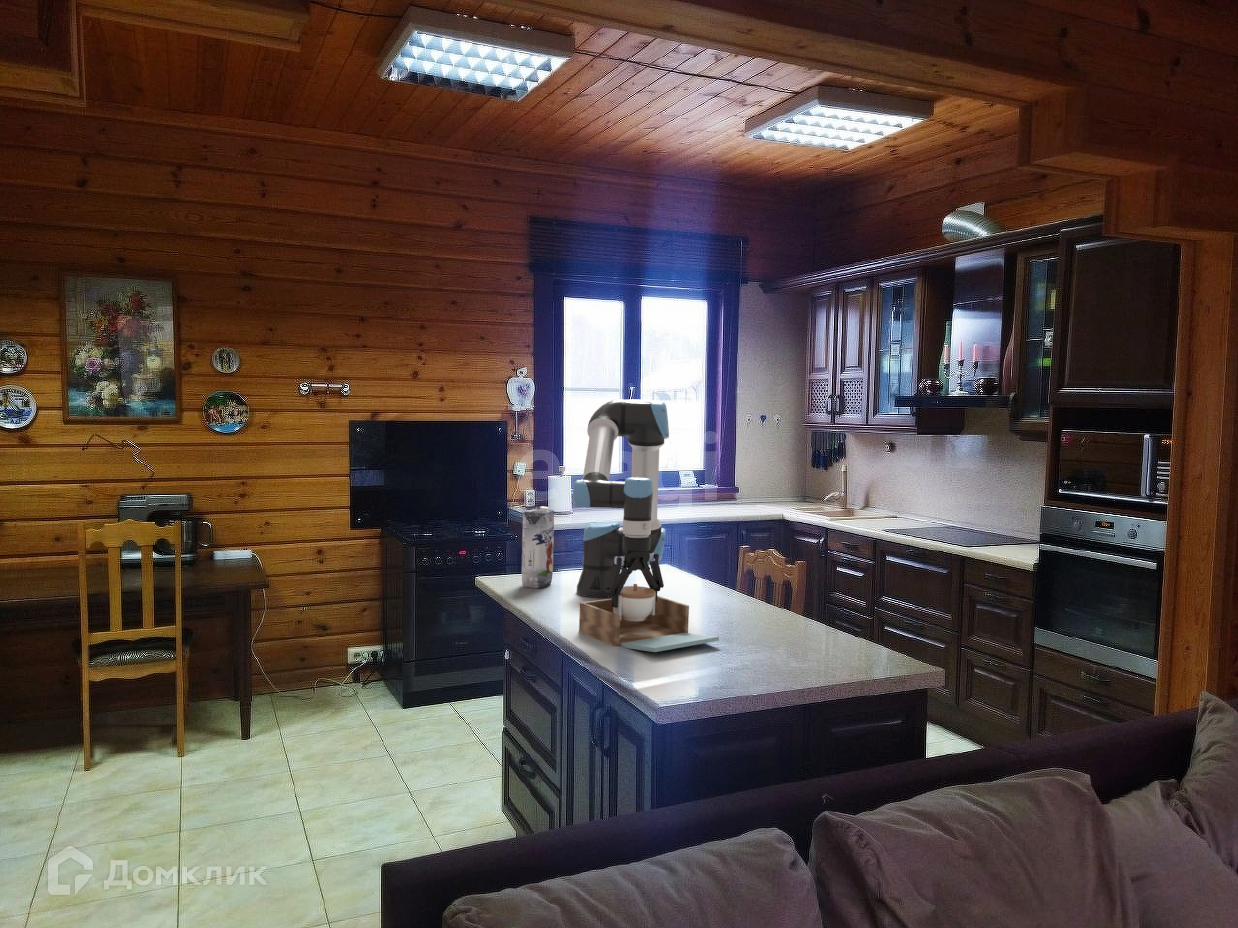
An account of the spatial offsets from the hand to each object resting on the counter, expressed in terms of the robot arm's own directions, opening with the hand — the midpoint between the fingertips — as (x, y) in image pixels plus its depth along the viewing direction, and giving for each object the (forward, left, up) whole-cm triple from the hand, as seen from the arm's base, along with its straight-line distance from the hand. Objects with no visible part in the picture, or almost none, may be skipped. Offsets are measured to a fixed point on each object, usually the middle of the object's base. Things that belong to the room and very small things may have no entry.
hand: (634, 616), depth 242 cm
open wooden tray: (0, 0, -6) cm, 6 cm away
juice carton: (-69, +11, -6) cm, 70 cm away
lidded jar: (0, 0, -1) cm, 1 cm away
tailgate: (+8, 0, -4) cm, 9 cm away
